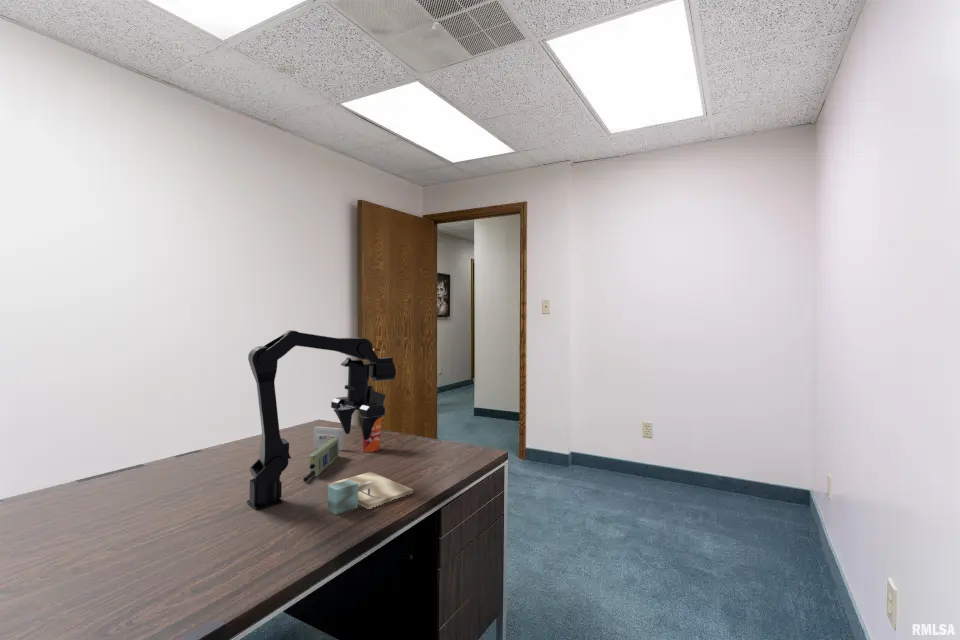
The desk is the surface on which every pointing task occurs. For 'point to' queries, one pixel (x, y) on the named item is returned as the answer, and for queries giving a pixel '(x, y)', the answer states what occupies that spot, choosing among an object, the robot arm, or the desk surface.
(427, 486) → the desk surface
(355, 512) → the desk surface
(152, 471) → the desk surface
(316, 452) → the handheld radio
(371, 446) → the paper cup
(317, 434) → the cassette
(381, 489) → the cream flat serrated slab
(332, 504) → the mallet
